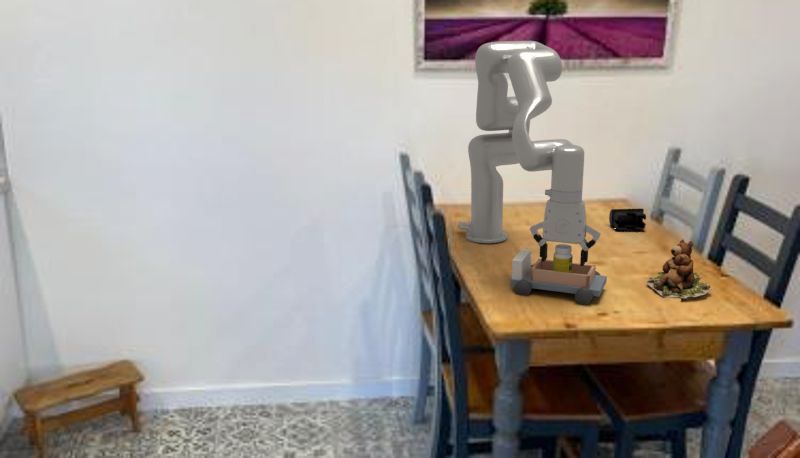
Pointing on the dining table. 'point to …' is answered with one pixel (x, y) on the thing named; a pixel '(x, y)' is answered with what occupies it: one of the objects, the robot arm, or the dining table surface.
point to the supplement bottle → (562, 258)
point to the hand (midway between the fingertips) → (563, 262)
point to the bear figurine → (679, 275)
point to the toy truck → (555, 278)
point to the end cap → (627, 220)
